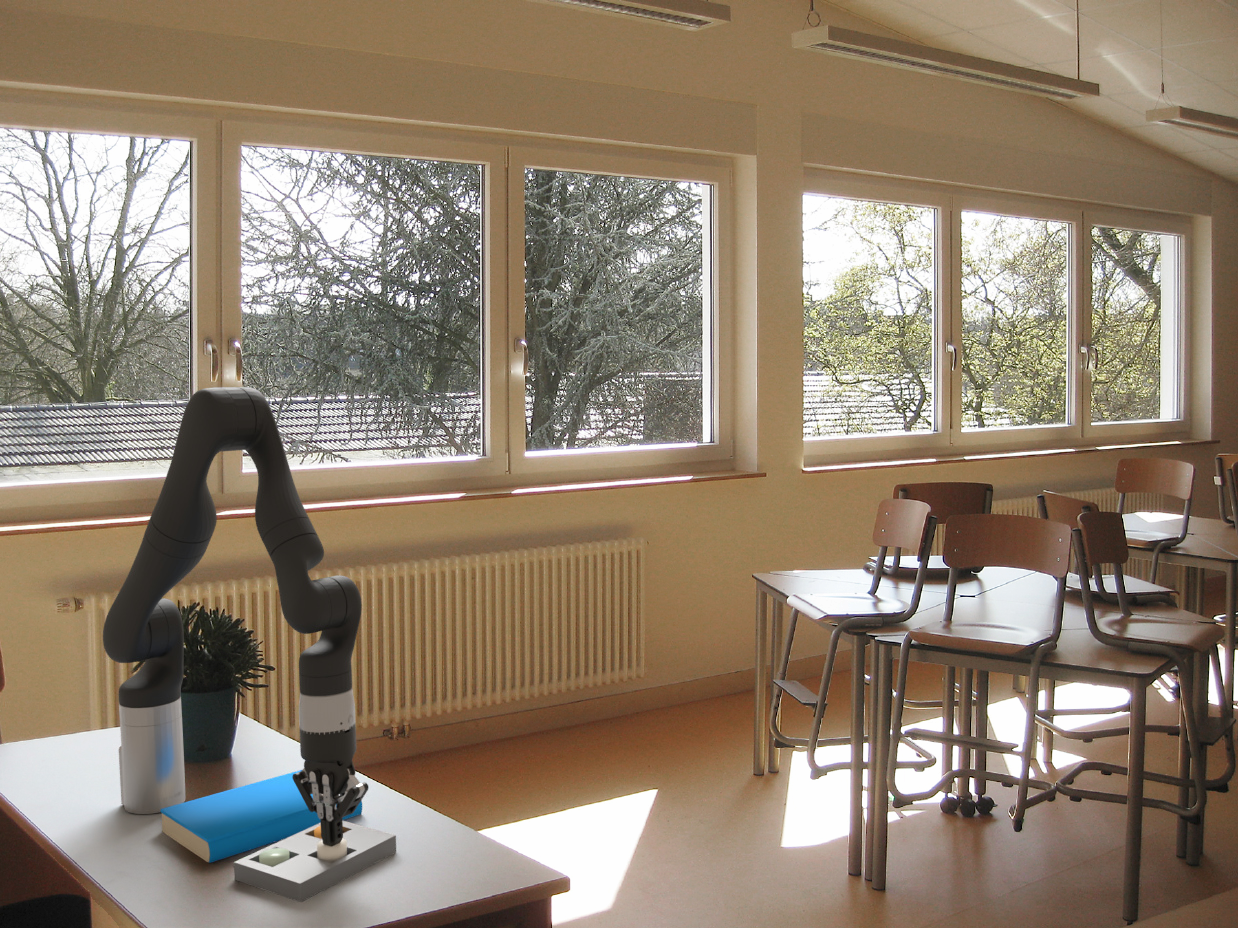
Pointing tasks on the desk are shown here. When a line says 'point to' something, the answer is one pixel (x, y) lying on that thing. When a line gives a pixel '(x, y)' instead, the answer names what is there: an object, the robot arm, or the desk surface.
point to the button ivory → (331, 851)
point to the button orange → (317, 832)
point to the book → (241, 818)
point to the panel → (314, 862)
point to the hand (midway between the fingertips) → (332, 843)
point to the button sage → (274, 856)
